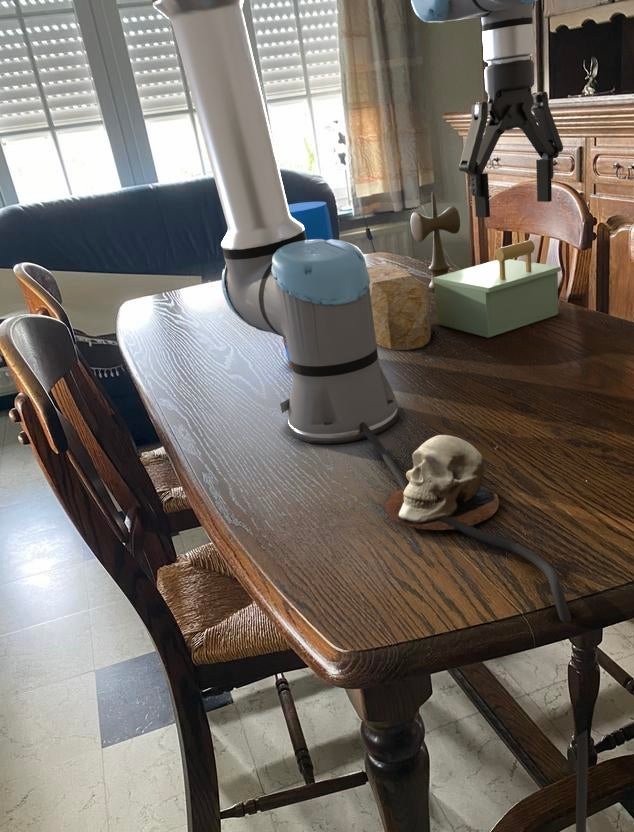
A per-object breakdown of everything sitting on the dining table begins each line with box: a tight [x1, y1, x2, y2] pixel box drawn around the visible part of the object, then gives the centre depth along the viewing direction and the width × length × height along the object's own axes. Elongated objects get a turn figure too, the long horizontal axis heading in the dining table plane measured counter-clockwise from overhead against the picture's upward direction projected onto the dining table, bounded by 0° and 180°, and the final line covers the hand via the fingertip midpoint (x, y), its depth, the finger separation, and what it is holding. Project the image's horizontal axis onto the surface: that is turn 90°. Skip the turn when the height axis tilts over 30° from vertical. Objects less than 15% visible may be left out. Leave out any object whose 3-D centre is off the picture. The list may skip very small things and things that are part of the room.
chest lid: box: [434, 239, 562, 293], centre depth 133 cm, size 15×17×6 cm
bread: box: [367, 262, 432, 351], centre depth 142 cm, size 36×11×10 cm, turn 16°
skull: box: [384, 434, 500, 531], centre depth 79 cm, size 12×10×10 cm
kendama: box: [410, 190, 461, 291], centre depth 159 cm, size 6×10×20 cm, turn 113°
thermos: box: [282, 201, 334, 370], centre depth 123 cm, size 11×11×25 cm
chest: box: [434, 272, 559, 339], centre depth 136 cm, size 15×17×8 cm
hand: (514, 209), depth 124 cm, fingers open, 13 cm apart
